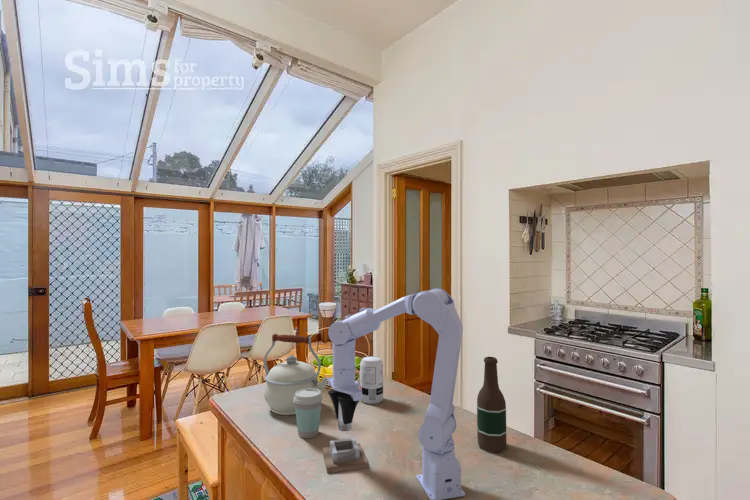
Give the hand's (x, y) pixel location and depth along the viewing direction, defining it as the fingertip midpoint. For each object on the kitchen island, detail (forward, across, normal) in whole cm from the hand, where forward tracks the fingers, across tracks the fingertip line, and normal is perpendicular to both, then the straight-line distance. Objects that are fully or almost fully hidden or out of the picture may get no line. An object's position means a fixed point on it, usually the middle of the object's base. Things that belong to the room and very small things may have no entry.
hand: (344, 420), depth 98 cm
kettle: (+10, +40, -3) cm, 41 cm away
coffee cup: (+10, +19, +2) cm, 21 cm away
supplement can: (+10, +30, -28) cm, 42 cm away
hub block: (+10, 0, 0) cm, 10 cm away
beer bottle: (+10, -16, -37) cm, 41 cm away
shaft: (+2, 0, 0) cm, 2 cm away
